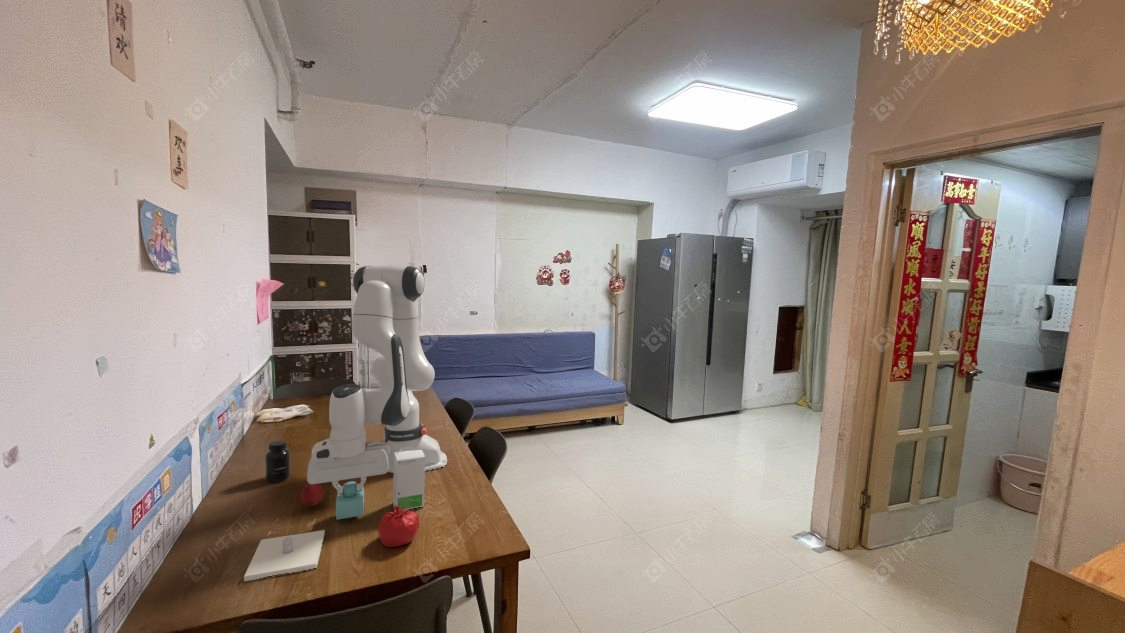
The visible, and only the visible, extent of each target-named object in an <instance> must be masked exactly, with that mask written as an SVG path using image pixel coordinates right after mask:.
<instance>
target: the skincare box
mask: <svg viewBox="0 0 1125 633" xmlns="http://www.w3.org/2000/svg"><path fill="white" fill-rule="evenodd" d="M425 473H426V471H425V455H424V453H423V451H422V450H413V451H404V452H395V453H394V473H393V477H392V478H393V482H392V483H393V484H392V504H393V507H395V506H396V505H397V506H399V510H401V509H402V508H403V507H405V506H407V507H405V508H404V510H407V509H408V510H409V509H412V508H417V507H421V506H424V507H425V481H426V480H425V476H426V474H425ZM417 509H418V508H417ZM412 510H413V509H412Z"/></svg>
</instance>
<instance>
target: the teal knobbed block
mask: <svg viewBox="0 0 1125 633" xmlns="http://www.w3.org/2000/svg"><path fill="white" fill-rule="evenodd" d="M357 484H358V483H357V481H353V480H351V481H347V482H345V483H343V485H342V486H343V495H336V501H335V515H336V521H337V520H343V519H349V518H354V517H360V516H364V511H365V487H364V486H363V491H362V492H357Z"/></svg>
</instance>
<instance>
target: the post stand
mask: <svg viewBox="0 0 1125 633" xmlns="http://www.w3.org/2000/svg"><path fill="white" fill-rule="evenodd" d="M325 531H326V530H325V529H323V530H315V531H309V532H305V533H296V534H290V535H283V536H277V537H271V538H264V539H260V541H259V543H258V546H257V547H256V550H255V552H254V553H253V554H254V555H253V557H252V559H251V560H250V562H249V565H248V568H247V569H246V571H245V574H244V576H243V579H244V580H243V581H244V582H250V581H255V580H261V579H264V578H263V577H267V576H272V575H278V574H283V573H289V574H293V572H294V573H298V572H299V573H300V572H304V571H303V570H305V571H310V570H309V569H311V570H314V569H313V568H316V569H317V567H318V563H319V559H320V556H321V552H322V548H323V544H324V543H323V542H324V538H325V535H326V532H325ZM322 543H323V544H322ZM321 547H322V548H321ZM283 575H284V574H283ZM278 576H279V575H278ZM272 577H273V576H272ZM260 578H261V579H260ZM267 578H268V577H267Z"/></svg>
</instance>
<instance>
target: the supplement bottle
mask: <svg viewBox="0 0 1125 633" xmlns="http://www.w3.org/2000/svg"><path fill="white" fill-rule="evenodd" d="M287 447H288V446H287V441H286V440H282V439H279V440H274V441H271V442H269V444H268V451H267V452H266V453H265V455H264V458H265V459H264V460H265V461H264V468H265V469H264V472H265V473H264V475H265V478H264V479H265V481H266V482H267V483H271V484H272V483H273V484H274V483H280V482H284V481H287V480H288V479H289V477H290V476H291V451H290V450H289V449H288V448H287Z"/></svg>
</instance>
